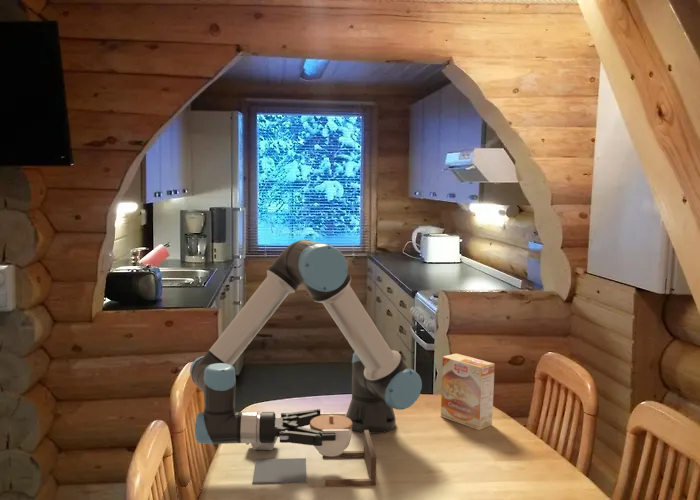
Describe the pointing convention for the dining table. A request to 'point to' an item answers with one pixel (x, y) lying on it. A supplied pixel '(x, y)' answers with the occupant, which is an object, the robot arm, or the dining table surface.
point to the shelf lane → (369, 460)
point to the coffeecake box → (467, 391)
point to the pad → (280, 471)
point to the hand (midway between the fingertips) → (347, 426)
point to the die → (263, 445)
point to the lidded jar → (328, 424)
